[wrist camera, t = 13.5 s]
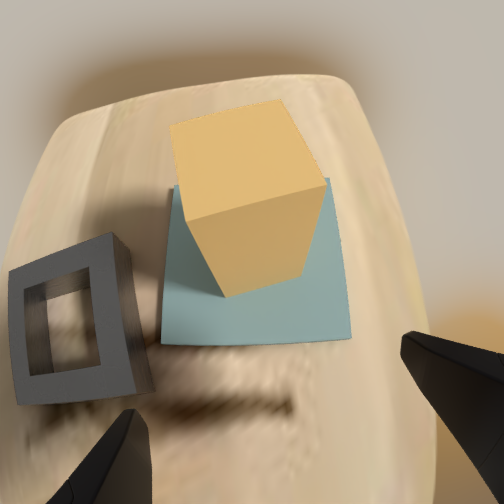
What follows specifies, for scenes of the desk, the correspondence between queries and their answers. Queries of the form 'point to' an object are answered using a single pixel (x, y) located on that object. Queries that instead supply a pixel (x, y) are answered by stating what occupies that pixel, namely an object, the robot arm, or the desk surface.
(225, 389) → the desk surface
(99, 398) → the square-hole plate
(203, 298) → the rubber mat
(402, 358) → the robot arm
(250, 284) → the ochre square block
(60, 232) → the desk surface
